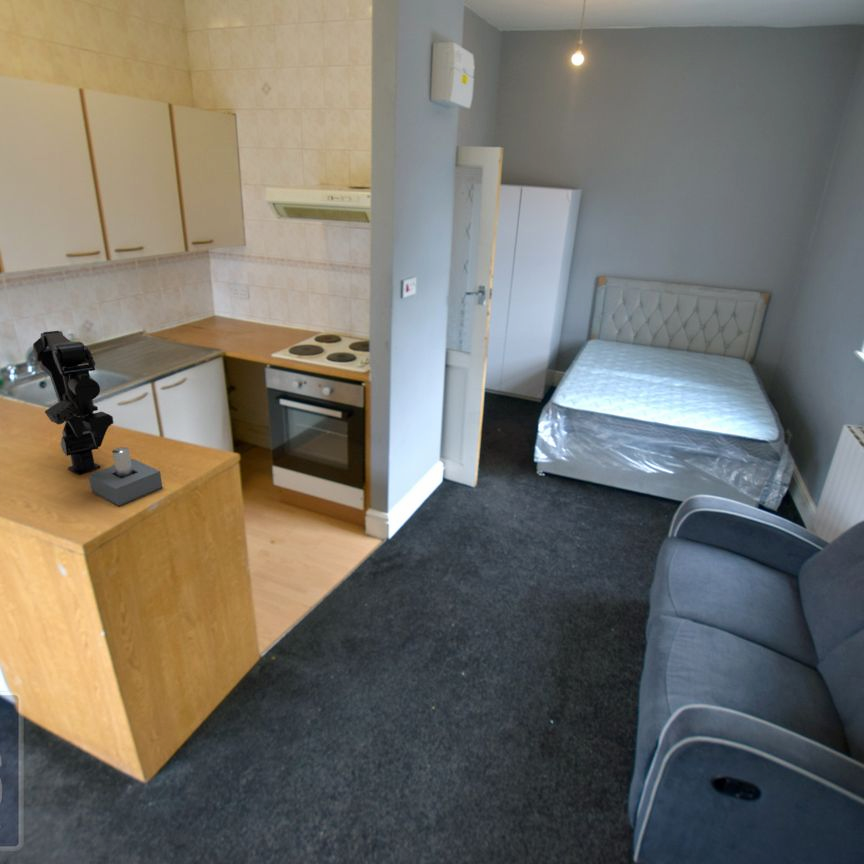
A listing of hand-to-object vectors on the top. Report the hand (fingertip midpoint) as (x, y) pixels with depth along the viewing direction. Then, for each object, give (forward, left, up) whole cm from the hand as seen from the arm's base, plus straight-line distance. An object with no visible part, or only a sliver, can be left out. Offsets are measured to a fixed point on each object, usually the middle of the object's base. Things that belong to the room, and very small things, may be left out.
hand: (88, 442), depth 160 cm
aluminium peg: (+10, +3, -12) cm, 16 cm away
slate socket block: (+10, +3, -13) cm, 17 cm away
